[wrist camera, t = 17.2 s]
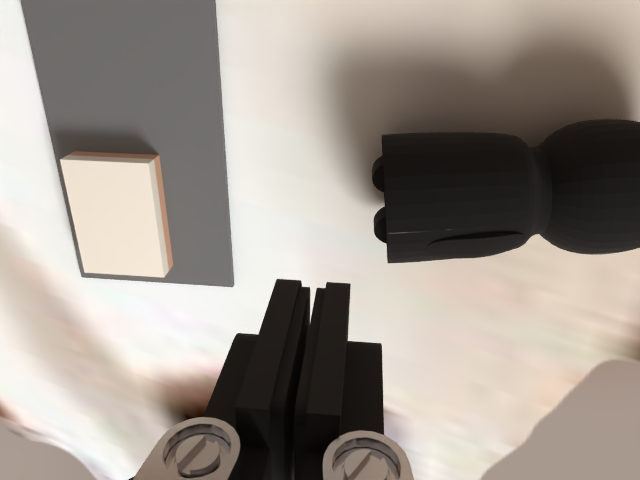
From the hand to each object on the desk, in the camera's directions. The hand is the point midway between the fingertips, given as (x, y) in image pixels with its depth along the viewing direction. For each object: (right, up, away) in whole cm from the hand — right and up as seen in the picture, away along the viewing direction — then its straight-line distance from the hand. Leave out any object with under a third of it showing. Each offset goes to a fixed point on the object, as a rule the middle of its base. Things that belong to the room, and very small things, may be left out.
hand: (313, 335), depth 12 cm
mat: (-14, +10, +29) cm, 34 cm away
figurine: (+14, +8, +28) cm, 32 cm away
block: (-13, +4, +30) cm, 33 cm away
